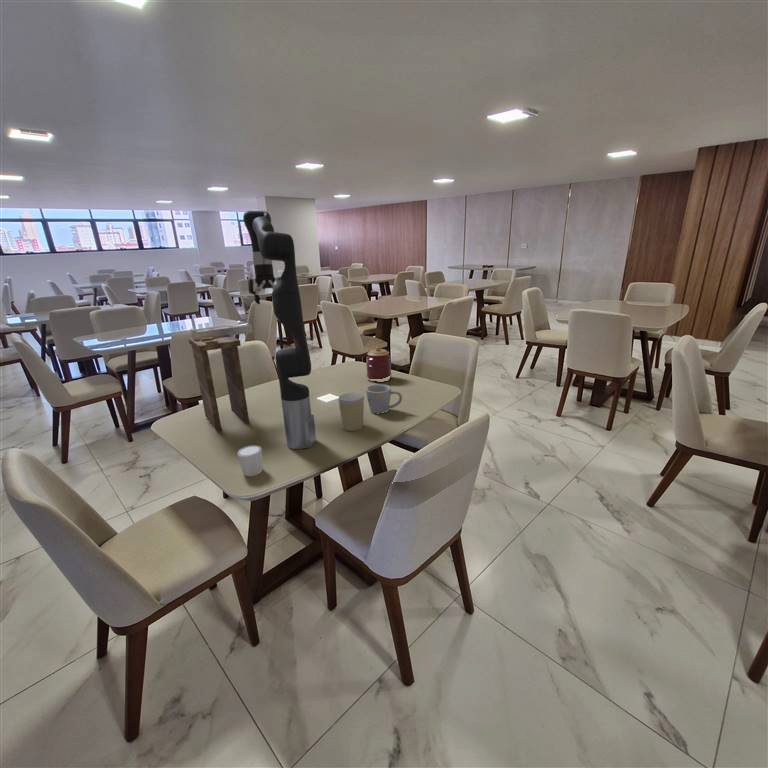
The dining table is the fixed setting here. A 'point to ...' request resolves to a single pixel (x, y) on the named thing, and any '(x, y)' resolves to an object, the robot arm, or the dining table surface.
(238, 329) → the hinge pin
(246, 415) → the walnut stand
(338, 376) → the dining table surface
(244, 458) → the white ribbed cup
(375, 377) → the canister
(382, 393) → the mug
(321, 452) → the dining table surface
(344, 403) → the coffee cup
